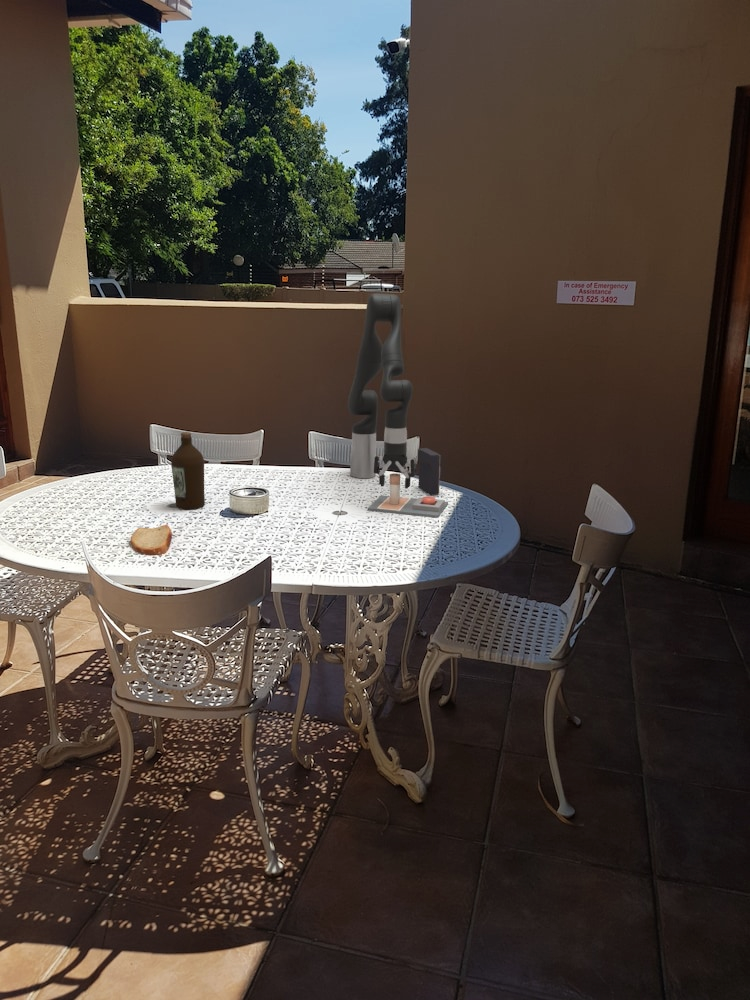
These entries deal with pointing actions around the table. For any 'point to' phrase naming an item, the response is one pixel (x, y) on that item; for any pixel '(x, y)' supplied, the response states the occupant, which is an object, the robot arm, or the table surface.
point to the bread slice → (152, 540)
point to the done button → (428, 500)
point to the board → (408, 506)
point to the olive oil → (188, 475)
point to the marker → (394, 489)
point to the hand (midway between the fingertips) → (394, 487)
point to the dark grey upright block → (429, 471)
